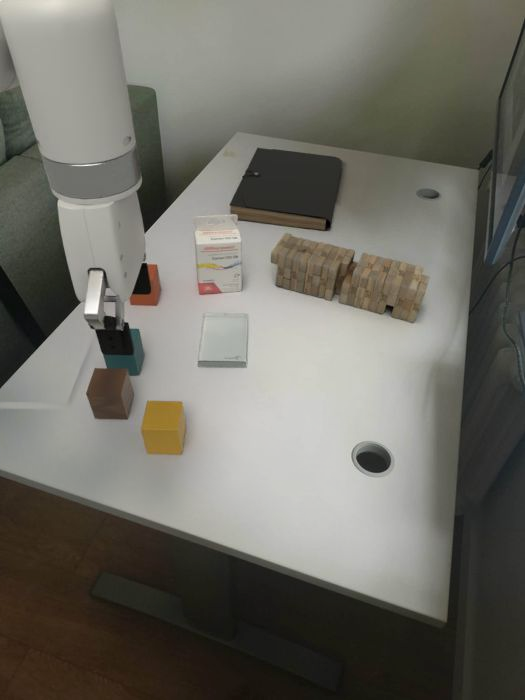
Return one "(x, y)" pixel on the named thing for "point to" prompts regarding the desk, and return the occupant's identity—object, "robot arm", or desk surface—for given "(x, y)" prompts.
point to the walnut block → (110, 393)
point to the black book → (288, 189)
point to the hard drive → (223, 340)
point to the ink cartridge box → (218, 254)
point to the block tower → (349, 276)
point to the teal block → (128, 356)
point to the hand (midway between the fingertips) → (128, 321)
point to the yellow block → (164, 427)
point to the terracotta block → (155, 286)
